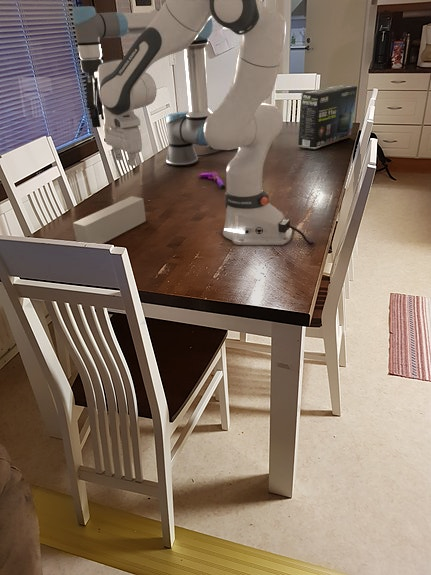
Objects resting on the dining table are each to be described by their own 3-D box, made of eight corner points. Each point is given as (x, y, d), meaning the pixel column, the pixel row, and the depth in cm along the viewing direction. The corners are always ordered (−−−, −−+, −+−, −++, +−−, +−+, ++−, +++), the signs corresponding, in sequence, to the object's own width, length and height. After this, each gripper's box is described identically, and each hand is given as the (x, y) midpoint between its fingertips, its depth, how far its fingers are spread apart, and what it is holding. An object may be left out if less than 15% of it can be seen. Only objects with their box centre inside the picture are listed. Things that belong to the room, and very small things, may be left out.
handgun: (199, 176, 203) (199, 172, 202) (216, 174, 204) (216, 170, 203) (207, 191, 185) (207, 186, 184) (226, 189, 186) (225, 184, 185)
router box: (314, 151, 231) (318, 94, 217) (296, 148, 237) (299, 92, 224) (352, 138, 251) (358, 85, 238) (335, 135, 258) (340, 83, 245)
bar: (134, 218, 164) (131, 196, 160) (146, 221, 161) (143, 198, 157) (77, 247, 145) (72, 222, 141) (89, 250, 142) (84, 226, 138)
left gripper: (89, 56, 169) (99, 116, 180) (69, 62, 147) (82, 130, 158) (109, 55, 168) (118, 116, 179) (92, 61, 147) (103, 130, 158)
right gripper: (96, 115, 148) (103, 158, 155) (123, 123, 133) (130, 170, 140) (114, 113, 151) (120, 155, 158) (142, 120, 136) (148, 166, 143)
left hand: (101, 123), depth 169 cm, fingers open, 13 cm apart
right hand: (125, 162), depth 149 cm, fingers open, 8 cm apart
